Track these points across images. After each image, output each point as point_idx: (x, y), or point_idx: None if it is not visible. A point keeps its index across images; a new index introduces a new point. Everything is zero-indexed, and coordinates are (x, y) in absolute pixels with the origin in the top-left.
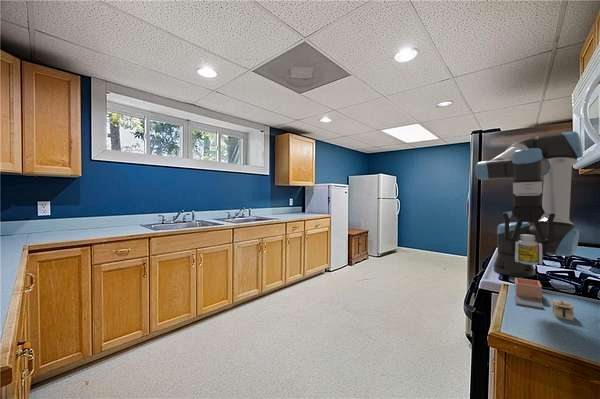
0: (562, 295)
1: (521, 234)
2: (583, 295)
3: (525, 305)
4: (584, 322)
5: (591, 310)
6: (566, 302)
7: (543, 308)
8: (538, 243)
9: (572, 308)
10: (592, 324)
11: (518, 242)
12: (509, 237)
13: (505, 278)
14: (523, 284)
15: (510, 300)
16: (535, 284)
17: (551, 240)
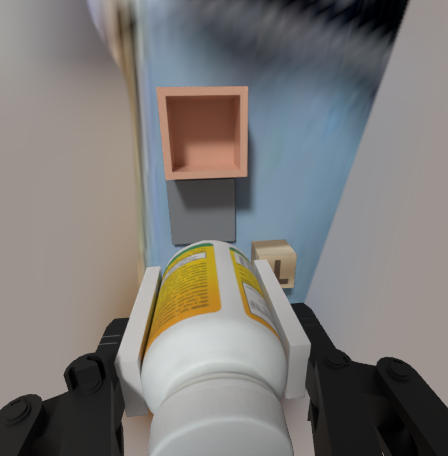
0: (308, 63)
1: (159, 454)
2: (375, 19)
3: (194, 242)
4: (300, 269)
5: (342, 177)
6: (287, 259)
7: (233, 240)
8: (293, 352)
9: (291, 285)
10: (312, 271)
11: (146, 400)
12: (50, 446)
13: None
14: (189, 178)
15: (157, 214)
16: (232, 96)
17: (388, 433)
